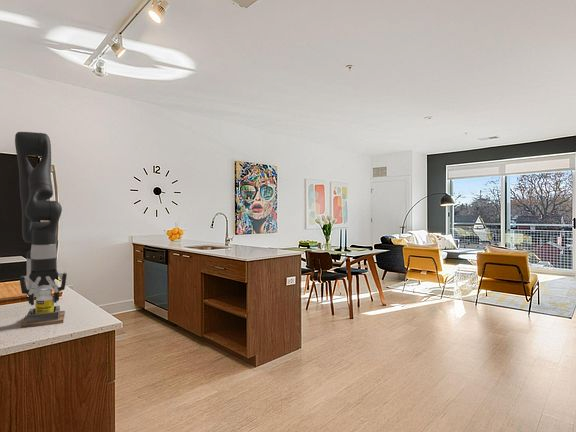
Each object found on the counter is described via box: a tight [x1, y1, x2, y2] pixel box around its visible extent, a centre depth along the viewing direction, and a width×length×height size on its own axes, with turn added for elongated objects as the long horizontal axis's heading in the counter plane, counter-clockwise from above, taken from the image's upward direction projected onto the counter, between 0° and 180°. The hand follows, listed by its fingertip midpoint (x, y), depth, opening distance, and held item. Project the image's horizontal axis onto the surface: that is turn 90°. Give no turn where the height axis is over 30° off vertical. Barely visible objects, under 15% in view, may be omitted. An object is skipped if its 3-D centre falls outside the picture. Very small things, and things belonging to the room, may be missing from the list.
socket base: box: [19, 305, 66, 329], centre depth 124 cm, size 12×12×4 cm
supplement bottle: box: [34, 288, 55, 314], centre depth 124 cm, size 5×5×10 cm
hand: (44, 303), depth 124 cm, fingers open, 6 cm apart
